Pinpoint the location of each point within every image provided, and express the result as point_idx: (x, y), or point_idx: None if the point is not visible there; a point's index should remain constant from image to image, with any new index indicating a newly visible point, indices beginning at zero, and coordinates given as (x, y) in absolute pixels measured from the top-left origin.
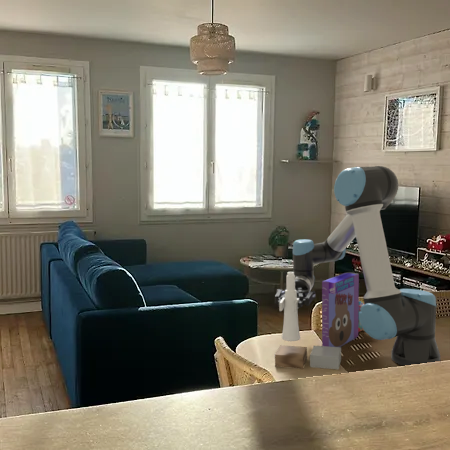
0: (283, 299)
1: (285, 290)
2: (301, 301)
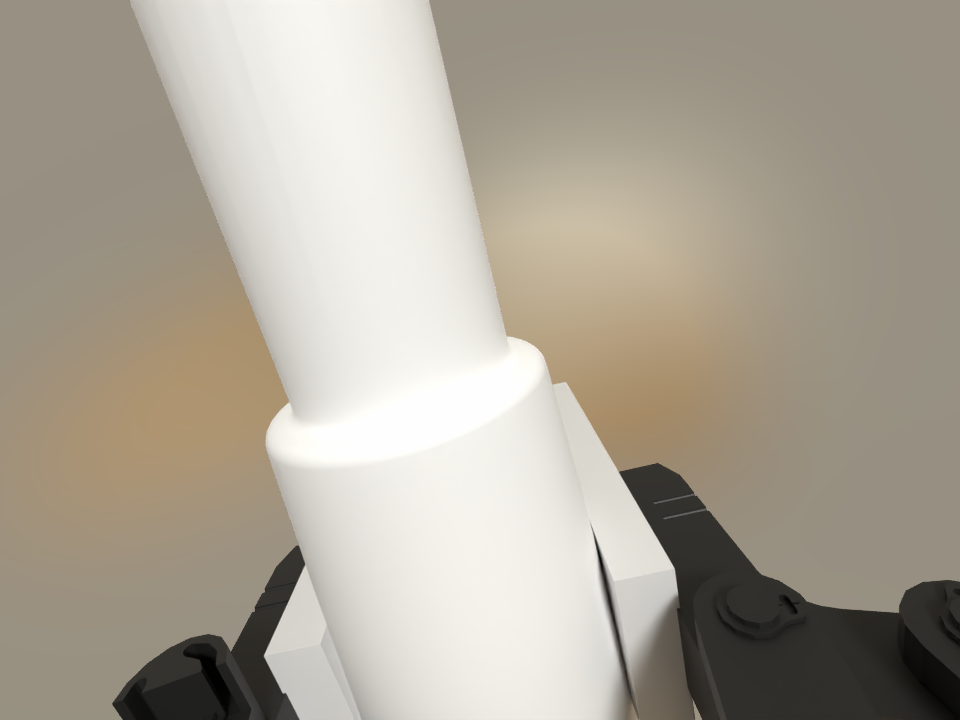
0: (579, 470)
1: (524, 341)
2: (257, 625)
